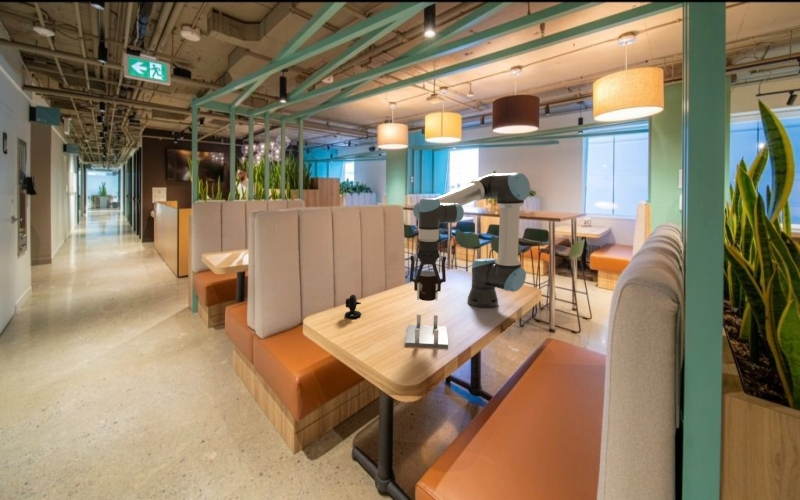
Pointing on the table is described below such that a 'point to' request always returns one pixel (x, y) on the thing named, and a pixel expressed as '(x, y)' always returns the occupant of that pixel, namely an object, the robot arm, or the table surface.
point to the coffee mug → (427, 285)
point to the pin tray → (426, 334)
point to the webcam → (352, 307)
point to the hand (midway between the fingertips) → (427, 298)
